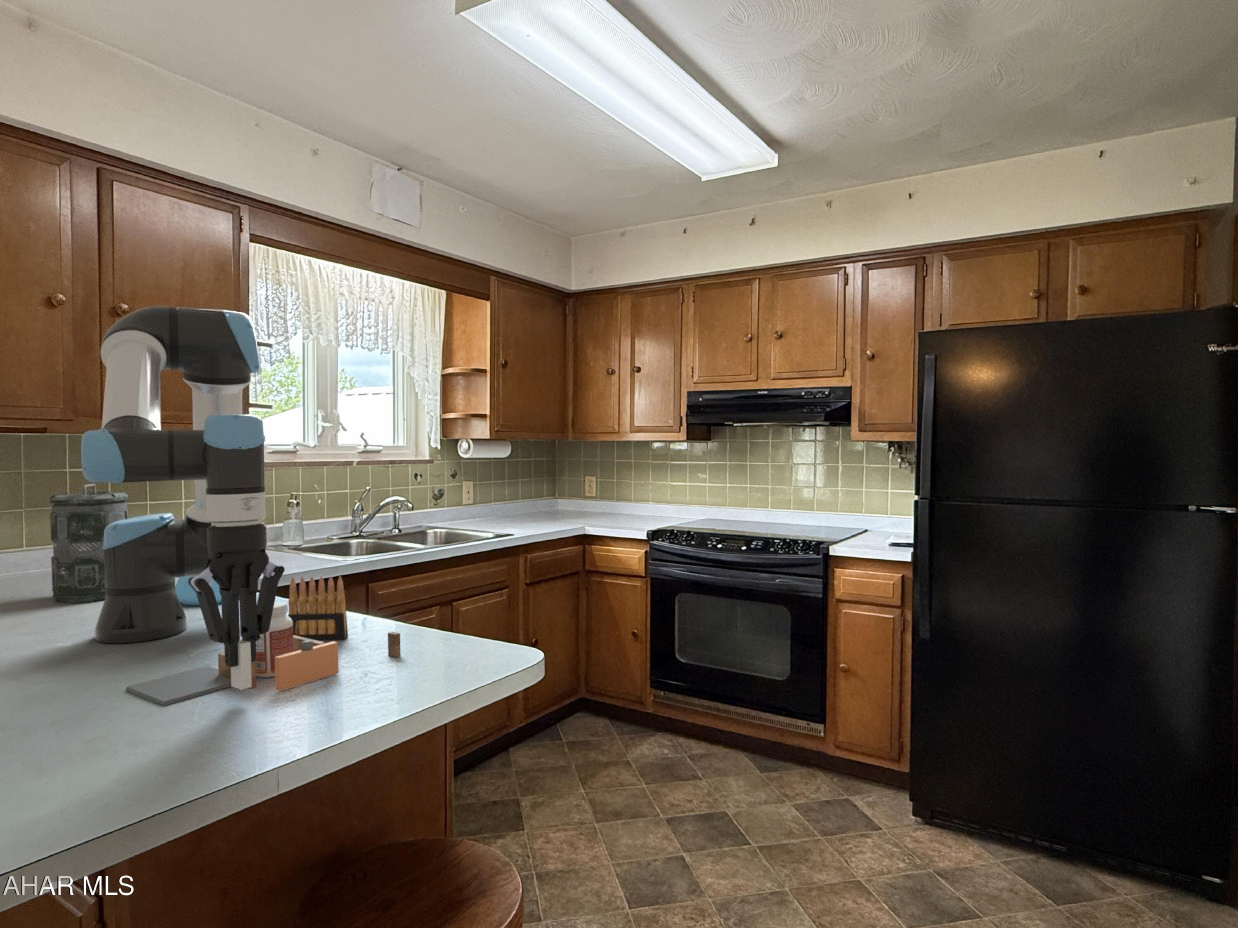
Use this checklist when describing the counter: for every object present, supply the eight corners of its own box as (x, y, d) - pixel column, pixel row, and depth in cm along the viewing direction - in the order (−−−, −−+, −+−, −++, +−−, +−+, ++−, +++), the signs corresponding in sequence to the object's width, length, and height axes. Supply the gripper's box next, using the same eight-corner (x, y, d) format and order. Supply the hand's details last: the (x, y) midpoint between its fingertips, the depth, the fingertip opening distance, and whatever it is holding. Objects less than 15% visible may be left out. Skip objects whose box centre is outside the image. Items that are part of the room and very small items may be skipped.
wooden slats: (218, 678, 115) (217, 653, 115) (346, 643, 135) (346, 622, 135) (271, 695, 107) (271, 669, 107) (400, 655, 127) (400, 633, 126)
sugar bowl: (159, 605, 170) (158, 556, 170) (209, 592, 185) (208, 547, 184) (213, 608, 167) (211, 557, 166) (260, 594, 181) (258, 548, 181)
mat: (126, 690, 110) (126, 686, 110) (207, 669, 120) (207, 665, 120) (164, 705, 104) (164, 701, 104) (246, 681, 114) (246, 678, 114)
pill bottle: (297, 665, 122) (295, 599, 122) (290, 676, 116) (288, 607, 116) (257, 668, 121) (255, 602, 120) (248, 680, 115) (246, 610, 114)
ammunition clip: (348, 637, 140) (346, 575, 139) (345, 639, 138) (343, 576, 137) (291, 638, 139) (289, 576, 139) (287, 641, 137) (285, 578, 137)
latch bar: (274, 689, 109) (273, 648, 109) (333, 671, 118) (332, 633, 117) (280, 691, 108) (279, 650, 108) (339, 673, 117) (338, 634, 117)
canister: (122, 600, 176) (118, 484, 175) (42, 606, 170) (38, 487, 169) (138, 588, 190) (135, 481, 190) (65, 593, 185) (61, 483, 184)
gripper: (203, 529, 96) (208, 705, 97) (294, 519, 107) (298, 678, 108) (175, 526, 100) (180, 694, 101) (266, 517, 111) (270, 670, 112)
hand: (241, 686), depth 104 cm, fingers closed
